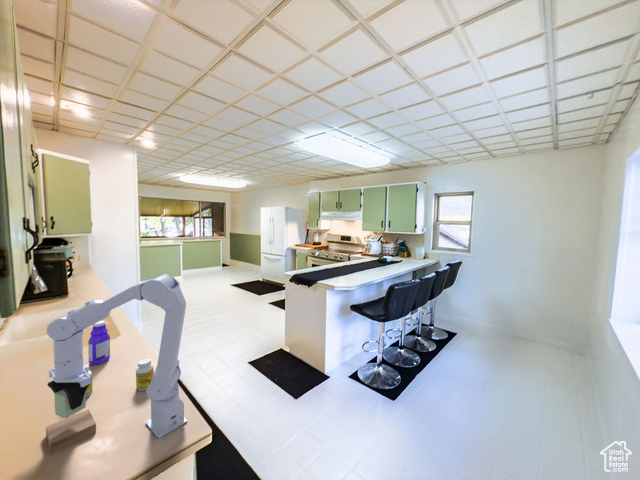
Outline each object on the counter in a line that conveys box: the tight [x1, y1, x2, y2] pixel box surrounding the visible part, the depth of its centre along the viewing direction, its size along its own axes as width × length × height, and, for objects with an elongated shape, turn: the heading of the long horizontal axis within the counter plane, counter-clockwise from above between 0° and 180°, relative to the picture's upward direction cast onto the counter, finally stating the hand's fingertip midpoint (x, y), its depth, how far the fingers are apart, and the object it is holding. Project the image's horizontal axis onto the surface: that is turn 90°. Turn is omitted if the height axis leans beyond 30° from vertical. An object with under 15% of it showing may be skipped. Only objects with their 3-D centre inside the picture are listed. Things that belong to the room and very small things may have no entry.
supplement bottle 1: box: [83, 364, 93, 398], centre depth 88 cm, size 5×5×10 cm
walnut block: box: [45, 409, 97, 454], centre depth 72 cm, size 9×9×3 cm
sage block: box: [54, 390, 86, 419], centre depth 71 cm, size 4×4×6 cm
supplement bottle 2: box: [135, 358, 155, 392], centre depth 93 cm, size 5×5×10 cm
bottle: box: [87, 320, 111, 366], centre depth 110 cm, size 7×6×17 cm
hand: (70, 405), depth 72 cm, fingers closed on sage block, 4 cm apart
